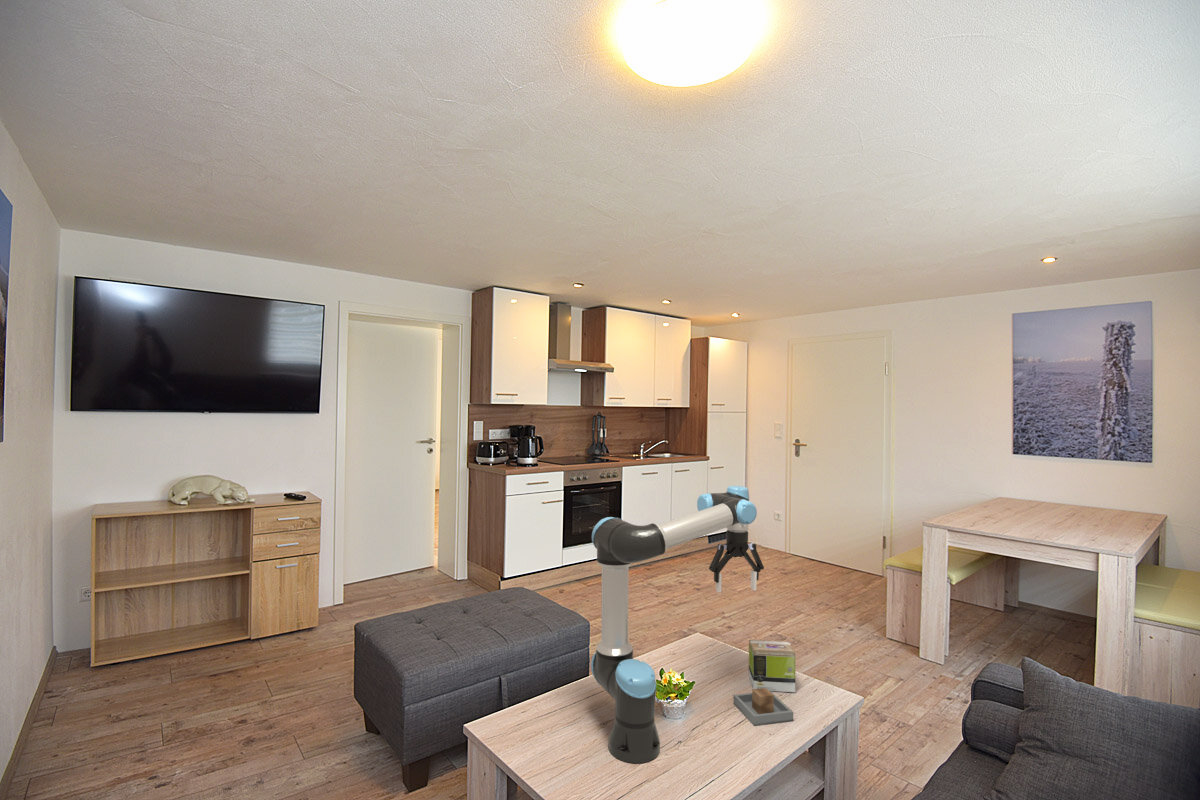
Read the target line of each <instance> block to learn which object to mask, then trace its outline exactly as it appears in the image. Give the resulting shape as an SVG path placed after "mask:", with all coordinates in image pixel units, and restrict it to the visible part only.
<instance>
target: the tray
mask: <svg viewBox="0 0 1200 800" xmlns="http://www.w3.org/2000/svg"><path fill="white" fill-rule="evenodd" d="M770 692H771V693H772V694H773V695H774V708H773V713H765V714H758V713H757V712H756V711H755V710H754V709H753V708H752V692H746V693H737V694H733V702H732V703H733V705H734V707H736V708H737V710H738V711H740V712H741V714H742V716H744V717H745V718H746V719H747V720H748V721H749V722H750V723H751V724H752V726H754V727H757V726H758V727H760V726H766V725H774V724H782V723H790V722H794V711H793V709H791V708H790V707H789V706H787V704H785V703H784V702H783V701H782V700H781V699H780V698H779V697H778V696H776V694H774V693H773V691H770Z"/></svg>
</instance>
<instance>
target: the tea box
mask: <svg viewBox="0 0 1200 800" xmlns="http://www.w3.org/2000/svg"><path fill="white" fill-rule="evenodd" d="M748 677H749V680H750V683H751V686H752V689H761V688H766V689H767V690H768V691H771V692H778V693H779V692H780V693H781V692H783V693H796V692H797V691H796V685H797V683H796V682H797V681H796V651H795V650H794V648H793V646H792V645H791V643H790V641H787V640H786V641H784V640H765V639H764V640H762V639H749V640H748Z"/></svg>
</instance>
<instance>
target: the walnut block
mask: <svg viewBox="0 0 1200 800" xmlns="http://www.w3.org/2000/svg"><path fill="white" fill-rule="evenodd" d="M771 692H772V691H771ZM771 692H770V691H768V690H767V689H766V688H761V689H753V688H752V692H751V693H752V708H753V709H754V710H755V711H756V712H757V713H758V714H765V713H773V708H774V695H775V694H774V693H773V692H772V693H773V694H774V695H773V694H772V693H771Z"/></svg>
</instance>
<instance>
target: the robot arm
mask: <svg viewBox="0 0 1200 800" xmlns="http://www.w3.org/2000/svg"><path fill="white" fill-rule="evenodd" d="M749 491H750V490H749V488H748V487H746V486H742V485H730V486H727V488H726V492H716V493H715V492H714V493H712V492H711V493H710V492H708V493H702V494H700V495H698V497H697V499H696V500H697V501H696V503H697V504H696V506H697V511H695V512H693V513H690V514H686V515H683V516H681V517H678V518H676V519H672V520H669V521H666V522H663V523H659V524H657V523H655V522H654V523H653V522H651V523H649V524H646V525H637V524H636V525H635V524H632V523H630V522H627V521H625V520H624V519H622V518H620V517H613V516H609V517H608V516H607V517H604V518H602V519H600V520H599V521H598V522H597V523H596V524H595V526H594V527H593V529H592V532H591V543H592V544H593V546H594V547H595V549H596V562H597V564H598V565H599V566H600V567H601V620H600V621H601V625H600V627H601V629H600V633H601V635H600V637H601V641H600V642H599V643H598V644H597V645H596V650H595V653H594V654H593V655H592V657H591V661H590V671H591V673H592V676H593V678H594V679H595V681H596V683H598V685H599V686H600V687H602V688H603V690H604V691H606V693H607V694H609V696H610V697H612V699H613V700H614V701H615V703H614V704H615V711H614V713H615V715H614V721H613V724H612V726H611V727H612V728H611V731H610V733H609V737H608V750H609V752H610V754H611V755H612V756H614V757H615V758H616V759H618V760H620V761H623V762H626V763H630V764H643V763H648V762H650V761H653V760H654V759H656V758H657V756H659V754H660V751H661V740H660V736H659V732H658V730H657V726H656V723H655V713H656V712H655V711H656V709H655V708H656V688H657V681H656V673H655V670H654V669H653V668H652V666H651V665H650V664H649V663H647V662H646V661H643V660H642V661H640V659H635V658H634V646H633V645H632V644H631V642H629V571H630V570H629V568H630V567H631V565H632V564H633V563H639V562H643V561H648V560H650V559H654V558H657V557H659V556H662V555H664V554H665V553H666V551H667V550H668V549H671V548H674V547H676V546H678V545H682V544H685V543H688V542H689V541H693V540H695V539H699V538H701V537H704V536H706V535H709V534H711V533H714V532H718V531H720V530H723V529H727V530H726V531H725V532H726V533H725V534H726V538H725V540H726V544H721V543H718V544H717V548H716V549H717V550H716V552H715V555H714V556H713V558H712V561H711V562H710V565H709V566H708V570H709V571H711V572H712V573H713V581H714V582H715V591H716V592H717V593H719V594H721V593H722V581H723V579H722V575H723V574H722V573H721V572H722V571H723V569H724V568H725V566H726V565H727V564H728V562H729V561H730V560H731V559H732V558H738V557H739V558H744V559H745V561H747V562H746V563H748V564H749V566H750V567H751V568H752V569H751V570H750V589H751V590H753V591H754V592H755V591H757V586H758V585H757V582H758V581H759V579H760V578H759V574H760V573H761V570H764V569H765V567H764V565H763V562H762V560H761V557H760V555H759V553H758V551H757V544H756V543H754V542H750V543H748V542H749V532H748V530H749V525H751V524H752V523H754V522H755V520H756V518H757V515H758V511H757V507H756V505H755V504H754V502H752V501H750V495H749V494H750V492H749ZM748 550H750V553H751V555H752V557H753V559H754V560H753V559H752V557H750V554H749V553H748V552H747V551H748ZM724 552H725V553H724ZM722 556H723V557H722Z"/></svg>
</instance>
